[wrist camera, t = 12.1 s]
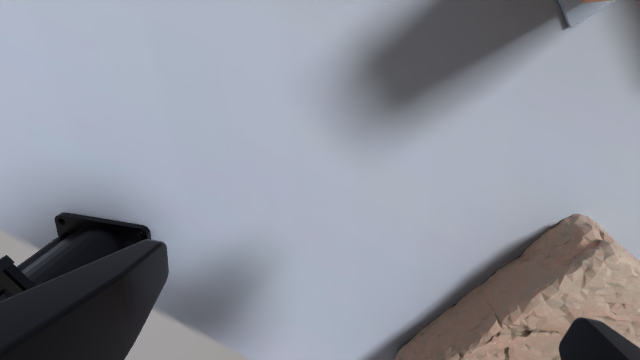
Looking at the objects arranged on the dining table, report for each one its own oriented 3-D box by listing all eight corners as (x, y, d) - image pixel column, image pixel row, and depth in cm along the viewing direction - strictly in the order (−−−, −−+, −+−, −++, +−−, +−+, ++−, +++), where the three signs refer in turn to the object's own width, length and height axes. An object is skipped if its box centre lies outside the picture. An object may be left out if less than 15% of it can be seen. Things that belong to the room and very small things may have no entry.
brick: (570, 203, 20) (626, 251, 16) (659, 277, 22) (732, 338, 18) (386, 347, 27) (392, 408, 23) (464, 396, 28) (483, 462, 24)
